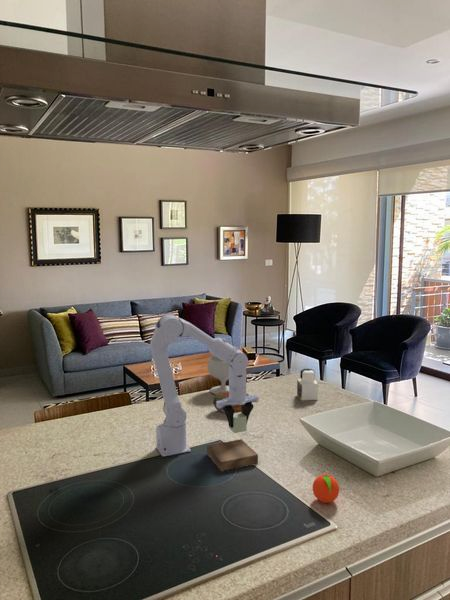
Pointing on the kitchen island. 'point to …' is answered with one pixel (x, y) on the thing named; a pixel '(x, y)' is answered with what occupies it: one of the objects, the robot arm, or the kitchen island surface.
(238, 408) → the tin
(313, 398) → the medicine bottle
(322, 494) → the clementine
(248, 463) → the plinth
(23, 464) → the kitchen island surface
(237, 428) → the block
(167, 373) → the robot arm
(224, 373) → the chalice
